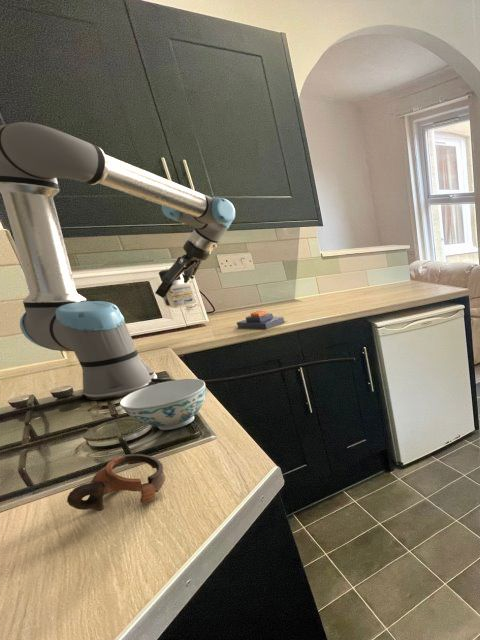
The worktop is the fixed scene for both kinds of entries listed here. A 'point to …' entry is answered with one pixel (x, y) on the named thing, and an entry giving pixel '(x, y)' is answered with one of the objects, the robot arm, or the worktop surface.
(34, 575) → the worktop surface
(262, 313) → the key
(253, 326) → the blue orange stepped pyramid
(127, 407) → the chinaware
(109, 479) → the brown curved ring piece
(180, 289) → the container
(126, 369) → the robot arm
